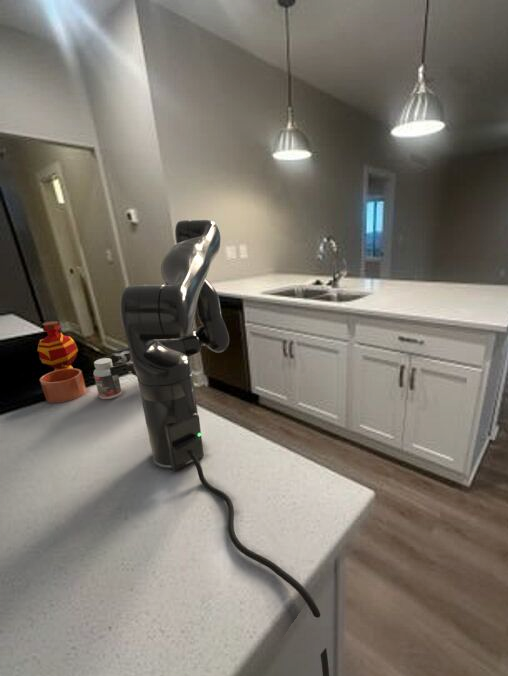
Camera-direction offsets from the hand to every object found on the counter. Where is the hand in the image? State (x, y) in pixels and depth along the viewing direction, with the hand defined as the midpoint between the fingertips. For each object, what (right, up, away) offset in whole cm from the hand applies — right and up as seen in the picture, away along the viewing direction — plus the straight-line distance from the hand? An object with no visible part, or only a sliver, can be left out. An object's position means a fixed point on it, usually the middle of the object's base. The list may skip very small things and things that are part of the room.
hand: (104, 367), depth 88 cm
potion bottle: (-23, -1, +18) cm, 29 cm away
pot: (-12, -7, +3) cm, 15 cm away
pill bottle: (0, -8, +3) cm, 8 cm away
